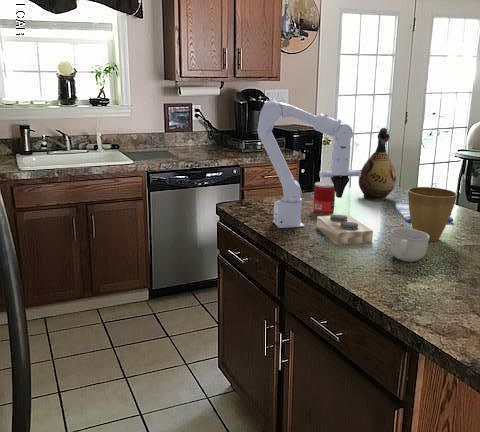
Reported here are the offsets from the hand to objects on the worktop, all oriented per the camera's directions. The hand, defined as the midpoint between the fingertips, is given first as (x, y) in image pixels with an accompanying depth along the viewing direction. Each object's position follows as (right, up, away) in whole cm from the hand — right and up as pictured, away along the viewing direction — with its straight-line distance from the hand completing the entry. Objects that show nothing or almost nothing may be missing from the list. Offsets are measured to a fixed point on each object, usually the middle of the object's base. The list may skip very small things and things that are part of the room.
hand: (338, 197), depth 184 cm
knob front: (+1, -14, -12) cm, 18 cm away
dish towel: (+36, -7, +18) cm, 41 cm away
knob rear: (-1, -11, -3) cm, 12 cm away
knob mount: (0, -13, -7) cm, 15 cm away
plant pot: (+27, -14, -10) cm, 32 cm away
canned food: (-2, -5, +21) cm, 22 cm away
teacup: (+14, -20, -30) cm, 38 cm away
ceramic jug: (+24, +1, +43) cm, 49 cm away
